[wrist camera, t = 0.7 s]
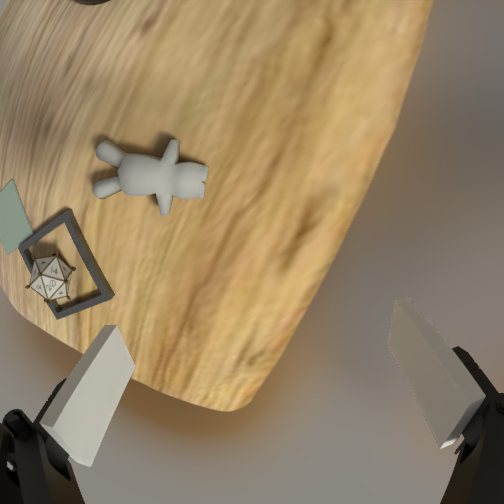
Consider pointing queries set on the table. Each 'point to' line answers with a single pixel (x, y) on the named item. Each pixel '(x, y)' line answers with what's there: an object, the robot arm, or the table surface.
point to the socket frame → (85, 255)
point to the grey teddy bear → (151, 175)
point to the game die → (50, 277)
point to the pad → (13, 219)
